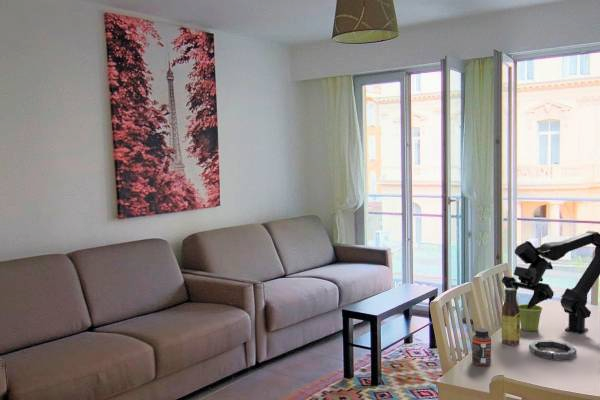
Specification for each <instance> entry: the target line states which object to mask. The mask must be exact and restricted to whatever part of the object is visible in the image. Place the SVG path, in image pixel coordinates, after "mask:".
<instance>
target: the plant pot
mask: <svg viewBox="0 0 600 400" xmlns="http://www.w3.org/2000/svg"><path fill="white" fill-rule="evenodd" d="M527 306H528V304H525V303H523V304H518V307H519V310H520V329H522V330H523V331H527V332H531V331H533V332H536V331H538V330H539V327H540V326H539V325H540V320H541V319H540V318H541V314H542V311H543V308H544V307H542V306H540V305H538V304H536V305H535V306H533V307H531V308H530V309H528V308H527Z"/></svg>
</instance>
